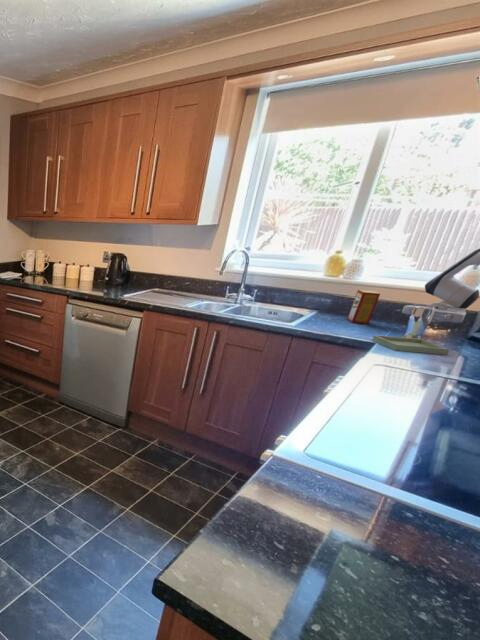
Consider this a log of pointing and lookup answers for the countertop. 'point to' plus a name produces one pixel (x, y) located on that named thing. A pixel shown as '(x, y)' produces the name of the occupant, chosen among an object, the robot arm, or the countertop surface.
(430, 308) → the beer glass
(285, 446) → the countertop surface
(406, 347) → the tray
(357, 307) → the baking soda box
